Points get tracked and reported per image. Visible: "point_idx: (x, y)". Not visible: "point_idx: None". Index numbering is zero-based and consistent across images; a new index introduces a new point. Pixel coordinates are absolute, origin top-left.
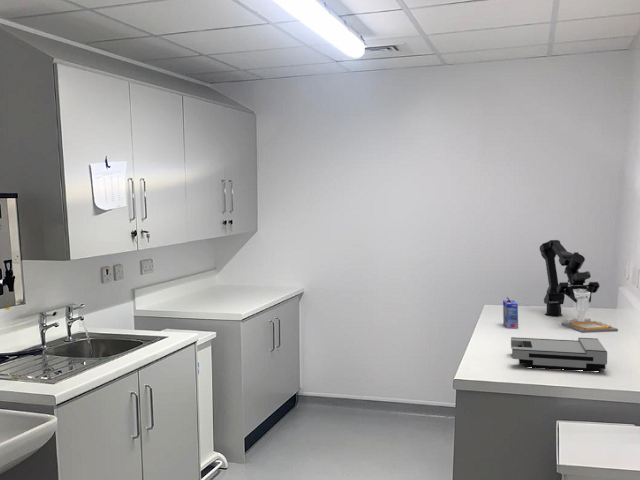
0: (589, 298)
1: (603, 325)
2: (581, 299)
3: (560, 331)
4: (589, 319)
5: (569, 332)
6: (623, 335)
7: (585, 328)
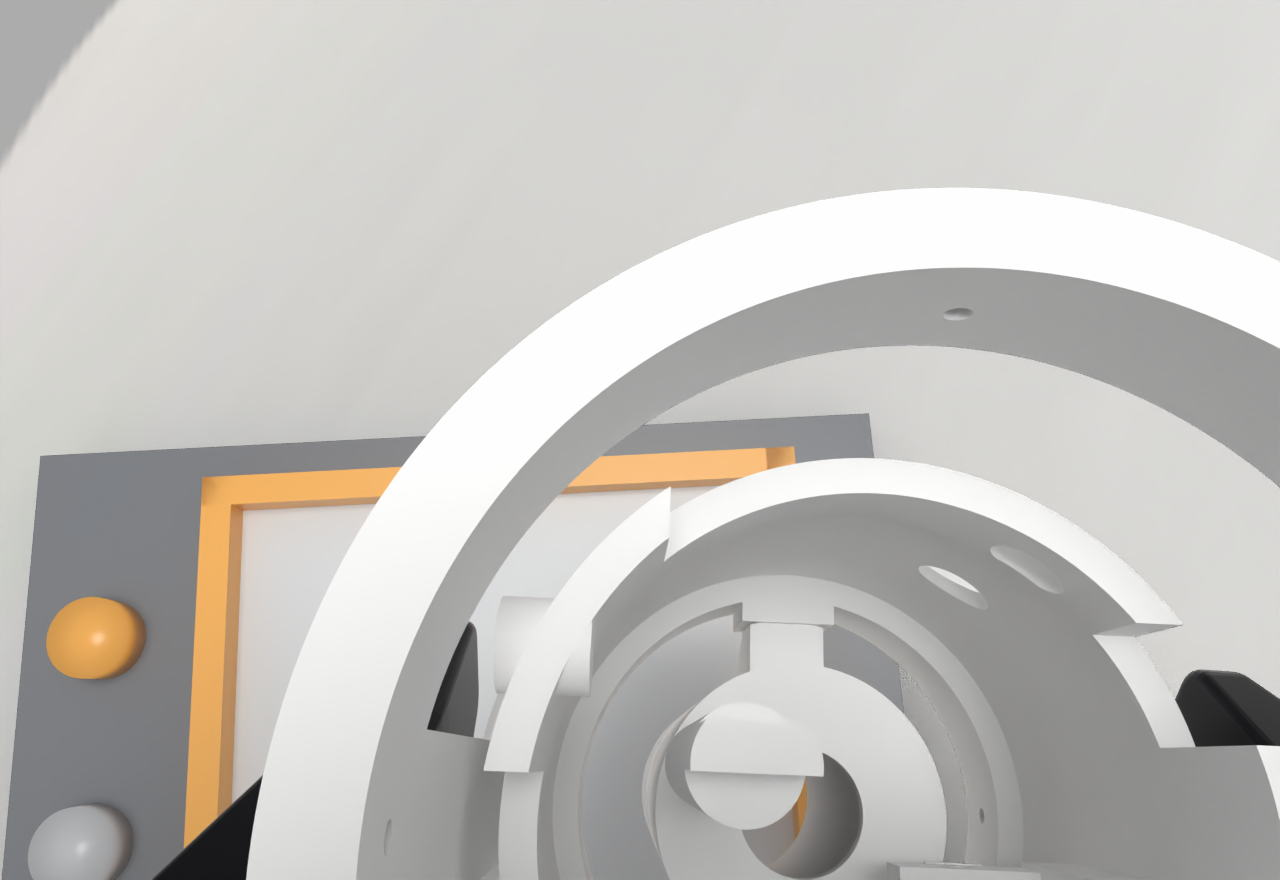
0: (436, 712)
1: (226, 649)
2: (1042, 514)
3: (1246, 588)
4: None
5: (1094, 479)
6: (211, 136)
7: (774, 450)
